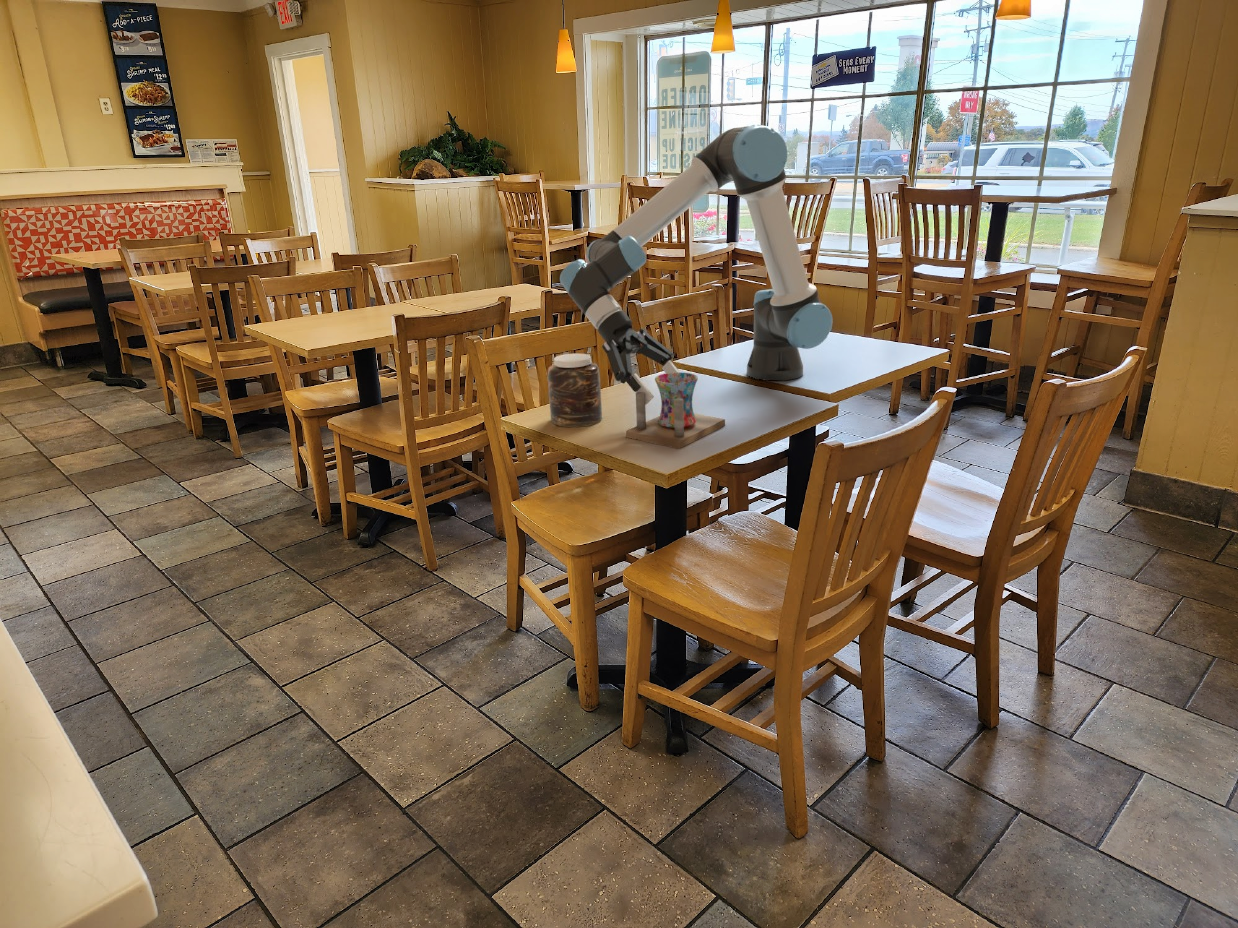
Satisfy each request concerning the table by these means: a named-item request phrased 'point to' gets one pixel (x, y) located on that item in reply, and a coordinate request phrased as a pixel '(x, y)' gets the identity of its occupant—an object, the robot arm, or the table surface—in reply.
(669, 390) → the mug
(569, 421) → the jar
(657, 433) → the board
